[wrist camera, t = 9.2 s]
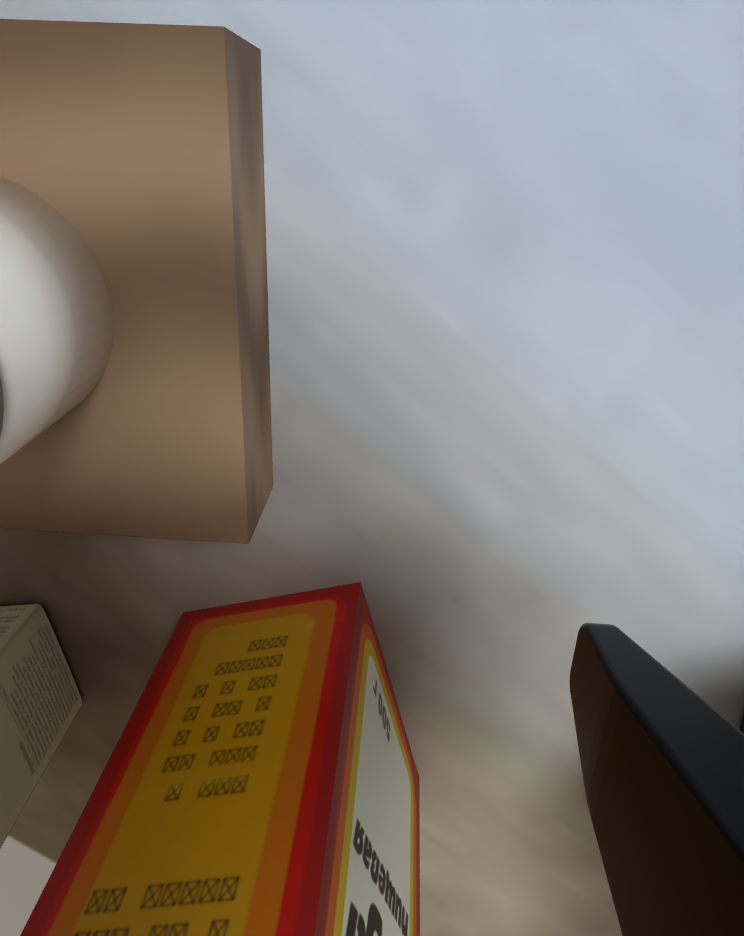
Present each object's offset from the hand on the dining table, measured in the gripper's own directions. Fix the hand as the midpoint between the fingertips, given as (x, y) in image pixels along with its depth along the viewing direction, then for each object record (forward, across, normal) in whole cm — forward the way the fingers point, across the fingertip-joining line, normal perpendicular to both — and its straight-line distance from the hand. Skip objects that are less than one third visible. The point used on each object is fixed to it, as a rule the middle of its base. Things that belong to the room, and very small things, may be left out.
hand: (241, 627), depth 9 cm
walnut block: (+12, +8, -2) cm, 15 cm away
